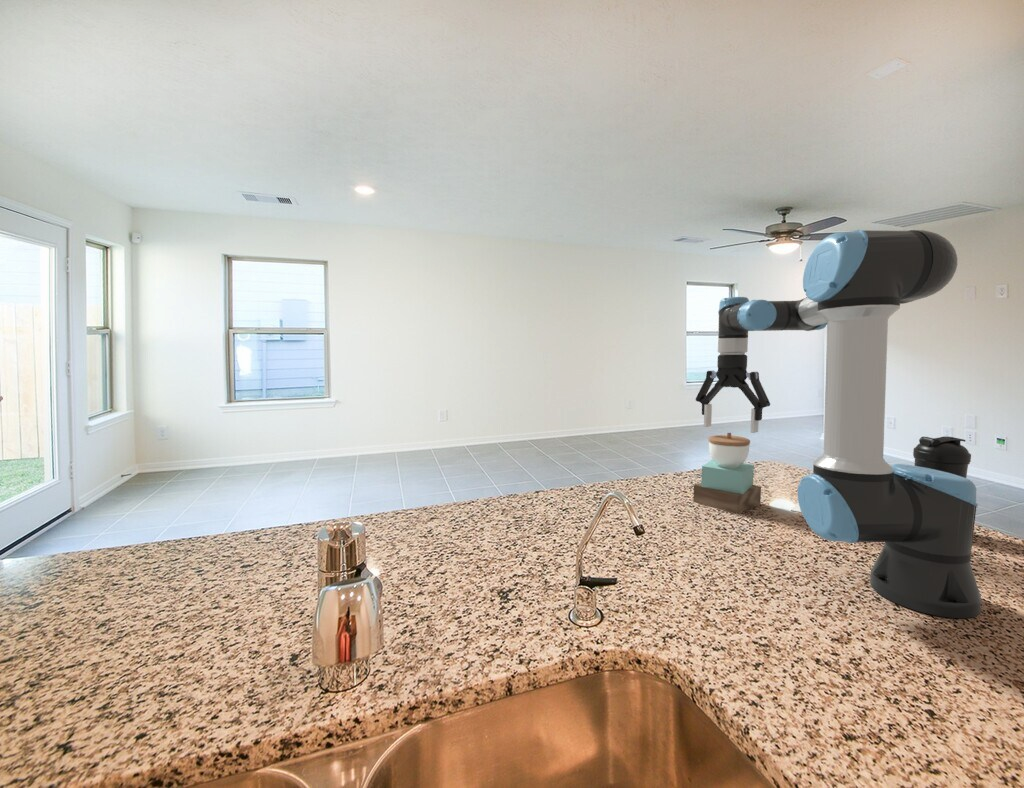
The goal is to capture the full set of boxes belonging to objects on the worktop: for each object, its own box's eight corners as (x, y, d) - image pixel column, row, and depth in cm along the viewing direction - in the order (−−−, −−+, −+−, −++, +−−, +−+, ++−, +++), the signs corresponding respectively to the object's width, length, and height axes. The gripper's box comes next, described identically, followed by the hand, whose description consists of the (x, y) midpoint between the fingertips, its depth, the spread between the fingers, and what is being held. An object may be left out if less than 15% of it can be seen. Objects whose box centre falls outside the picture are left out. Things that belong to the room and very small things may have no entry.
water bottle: (976, 539, 110) (985, 442, 107) (931, 539, 110) (939, 442, 107) (937, 523, 120) (945, 433, 117) (896, 523, 120) (903, 433, 118)
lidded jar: (740, 461, 140) (741, 429, 139) (755, 470, 129) (756, 436, 128) (703, 460, 141) (704, 429, 140) (714, 469, 131) (715, 436, 130)
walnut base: (737, 513, 127) (738, 495, 127) (693, 501, 138) (693, 484, 137) (760, 503, 135) (761, 486, 135) (717, 492, 146) (717, 476, 145)
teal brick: (742, 494, 128) (743, 472, 128) (701, 486, 135) (702, 466, 135) (753, 484, 137) (753, 464, 136) (713, 478, 144) (714, 458, 143)
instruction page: (834, 519, 123) (834, 518, 123) (790, 510, 130) (790, 509, 130) (843, 505, 133) (843, 504, 133) (802, 498, 140) (802, 497, 140)
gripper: (786, 353, 124) (782, 433, 126) (698, 353, 144) (696, 422, 146) (772, 353, 120) (769, 436, 122) (684, 354, 140) (682, 425, 141)
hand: (730, 429), depth 134 cm, fingers open, 13 cm apart
